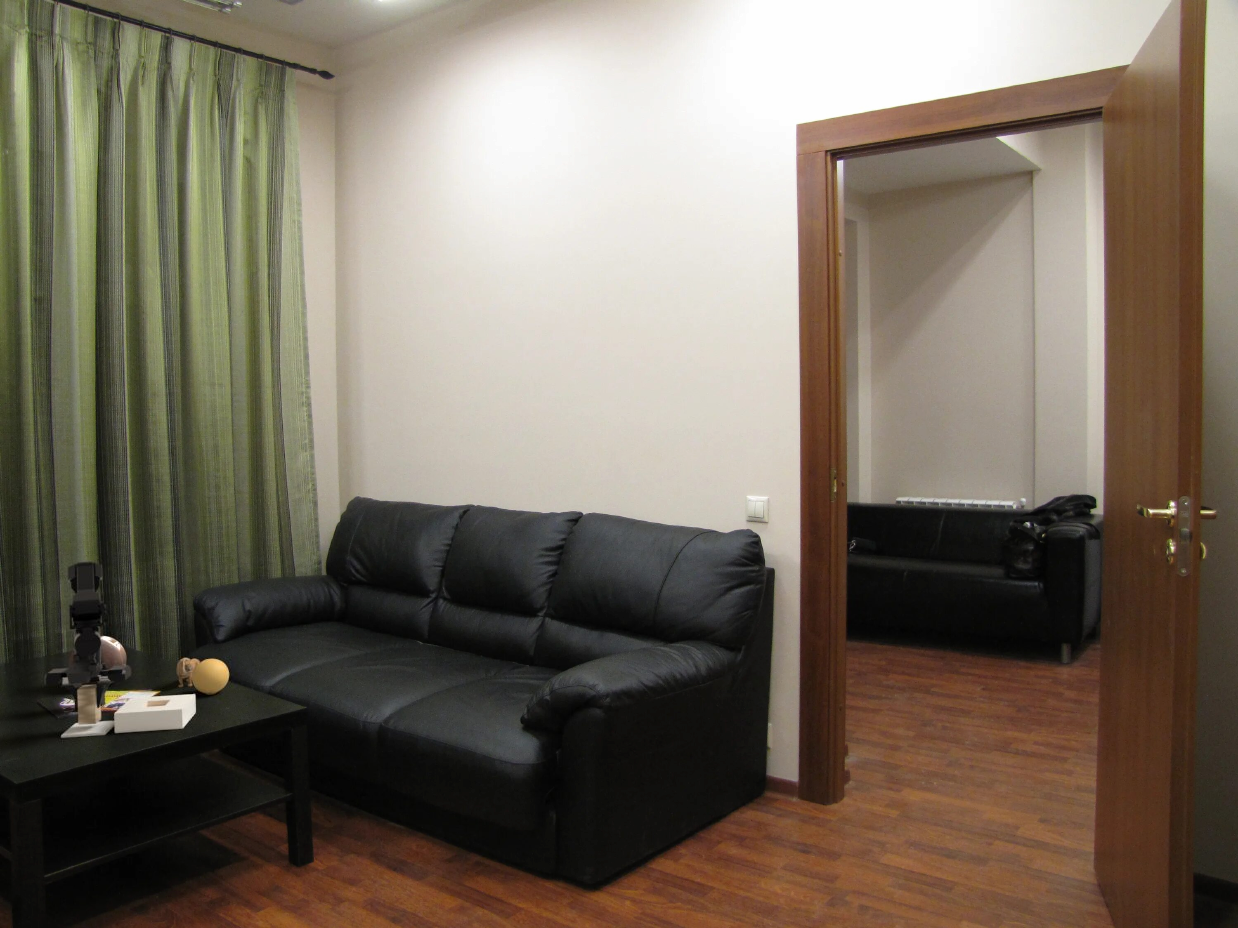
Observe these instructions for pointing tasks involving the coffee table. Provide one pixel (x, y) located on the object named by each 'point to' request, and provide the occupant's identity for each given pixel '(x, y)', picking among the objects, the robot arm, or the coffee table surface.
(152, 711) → the breaker housing
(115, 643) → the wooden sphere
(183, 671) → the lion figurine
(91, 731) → the mat
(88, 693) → the wooden block
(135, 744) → the coffee table surface
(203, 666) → the stress ball
